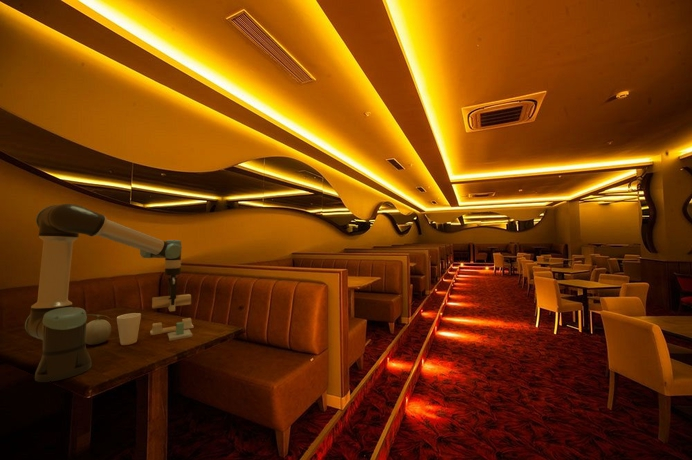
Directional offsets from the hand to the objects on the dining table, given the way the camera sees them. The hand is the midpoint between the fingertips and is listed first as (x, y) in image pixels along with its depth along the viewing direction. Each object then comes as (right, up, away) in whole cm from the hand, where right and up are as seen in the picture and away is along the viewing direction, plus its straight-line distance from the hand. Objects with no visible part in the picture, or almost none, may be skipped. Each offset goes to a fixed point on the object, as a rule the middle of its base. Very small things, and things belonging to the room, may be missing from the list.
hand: (171, 309), depth 156 cm
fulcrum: (+10, -11, -10) cm, 18 cm away
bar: (0, +2, 0) cm, 2 cm away
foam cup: (-9, -11, -19) cm, 24 cm away
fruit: (-24, -11, -19) cm, 33 cm away
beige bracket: (0, -11, 0) cm, 11 cm away
